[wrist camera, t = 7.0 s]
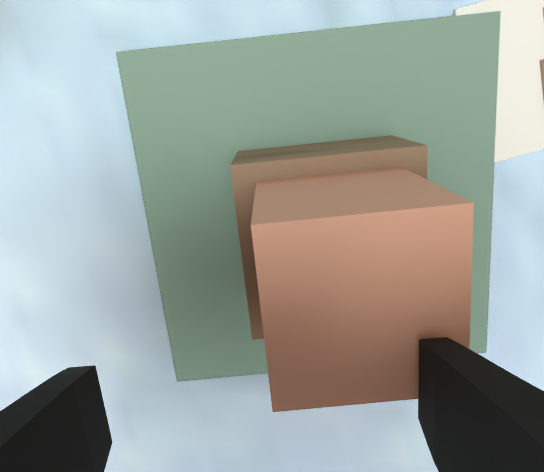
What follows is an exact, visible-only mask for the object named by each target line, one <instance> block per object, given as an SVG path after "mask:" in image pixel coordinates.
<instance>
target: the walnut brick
mask: <svg viewBox="0 0 544 472" xmlns="http://www.w3.org/2000/svg"><path fill="white" fill-rule="evenodd" d="M399 167H403V168H405V169H407V170H409V171H411V172H413V173H415V174H417V175H419V176H421V177H423V178H425V179H427V145H425V144H421V143H418V142H414V141H410V140H407V139H403V138H400V137H396V136H393V135H390V136H380V137H371V138H361V139H351V140H341V141H332V142H322V143H312V144H302V145H293V146H283V147H273V148H263V149H254V150H244V151H238V152H237V154H236V156H235V157H234V159H233V161H232V163H231V165H230V169H231V177H232V185H233V193H234V201H235V209H236V216H237V224H238V232H239V240H240V248H241V256H242V264H243V272H244V280H245V288H246V295H247V303H248V311H249V319H250V327H251V335H252V340H257V339H264V333H263V325H262V316H261V308H260V299H259V291H258V282H257V274H256V265H255V257H254V248H253V240H252V231H251V219H252V211H253V203H254V195H255V187H256V182H261V181H271V180H281V179H291V178H300V177H310V176H320V175H330V174H340V173H350V172H360V171H369V170H379V169H389V168H399Z"/></svg>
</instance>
